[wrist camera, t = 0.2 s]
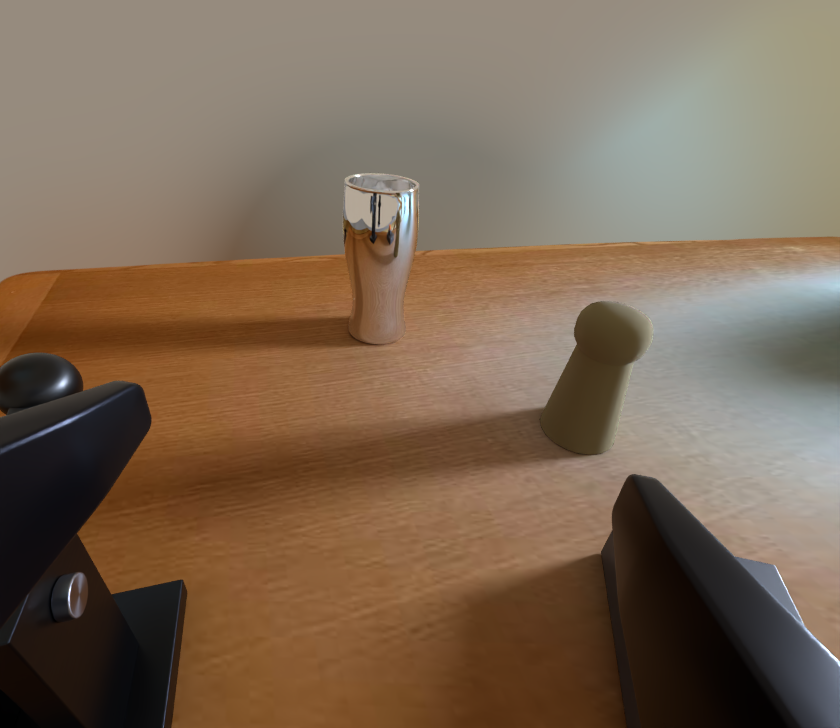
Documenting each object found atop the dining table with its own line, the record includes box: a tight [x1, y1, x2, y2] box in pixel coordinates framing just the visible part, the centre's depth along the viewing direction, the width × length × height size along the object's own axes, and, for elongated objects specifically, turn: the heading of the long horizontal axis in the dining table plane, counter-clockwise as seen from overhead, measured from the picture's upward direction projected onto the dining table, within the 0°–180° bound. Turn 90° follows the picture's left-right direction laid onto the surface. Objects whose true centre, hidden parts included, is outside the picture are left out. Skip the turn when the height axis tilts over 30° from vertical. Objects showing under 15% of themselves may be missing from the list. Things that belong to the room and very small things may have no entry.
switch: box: [0, 353, 83, 415], centre depth 17 cm, size 12×3×3 cm, turn 17°
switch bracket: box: [0, 534, 187, 728], centre depth 16 cm, size 10×8×11 cm
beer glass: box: [343, 173, 419, 344], centre depth 44 cm, size 7×7×15 cm
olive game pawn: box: [540, 301, 653, 455], centre depth 34 cm, size 6×6×11 cm
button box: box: [601, 530, 805, 728], centre depth 22 cm, size 11×9×4 cm
